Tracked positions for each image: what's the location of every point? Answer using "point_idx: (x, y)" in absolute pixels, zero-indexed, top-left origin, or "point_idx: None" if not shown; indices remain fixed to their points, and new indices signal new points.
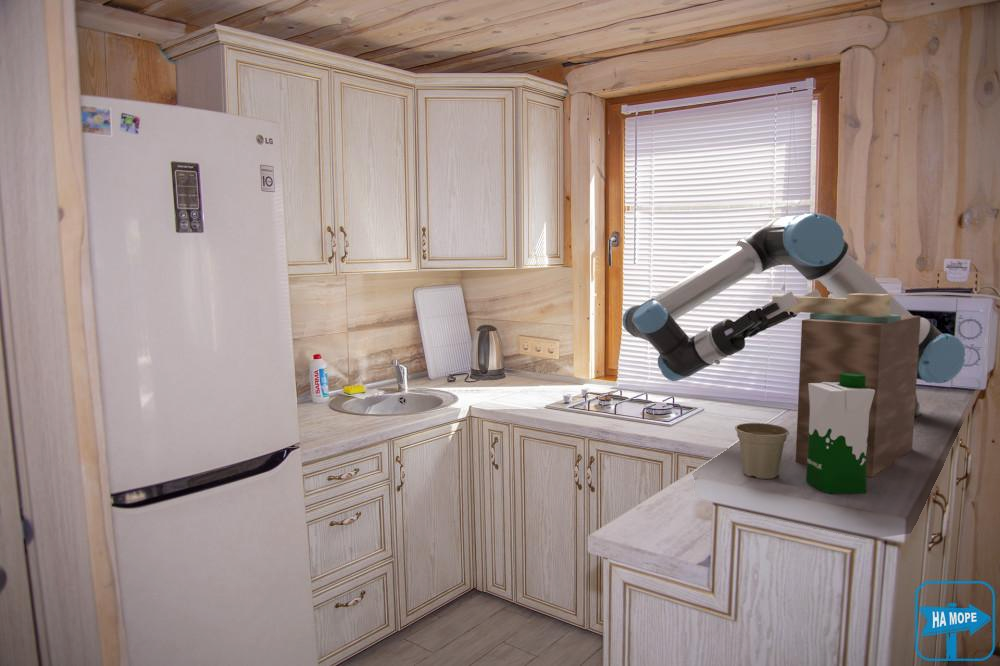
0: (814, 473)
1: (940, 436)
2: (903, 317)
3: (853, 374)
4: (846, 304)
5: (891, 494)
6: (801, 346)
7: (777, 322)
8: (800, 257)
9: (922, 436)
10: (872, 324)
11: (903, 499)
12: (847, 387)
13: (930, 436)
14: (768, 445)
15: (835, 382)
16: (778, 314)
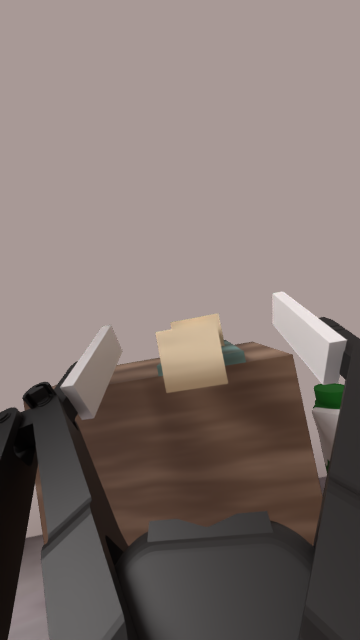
0: None
1: (39, 538)
2: (127, 364)
3: (327, 388)
4: (221, 329)
5: (323, 492)
6: (304, 413)
7: (26, 517)
8: None
9: (40, 555)
10: (254, 342)
11: (324, 482)
12: None
13: (39, 547)
14: None
15: (337, 413)
16: (80, 446)
